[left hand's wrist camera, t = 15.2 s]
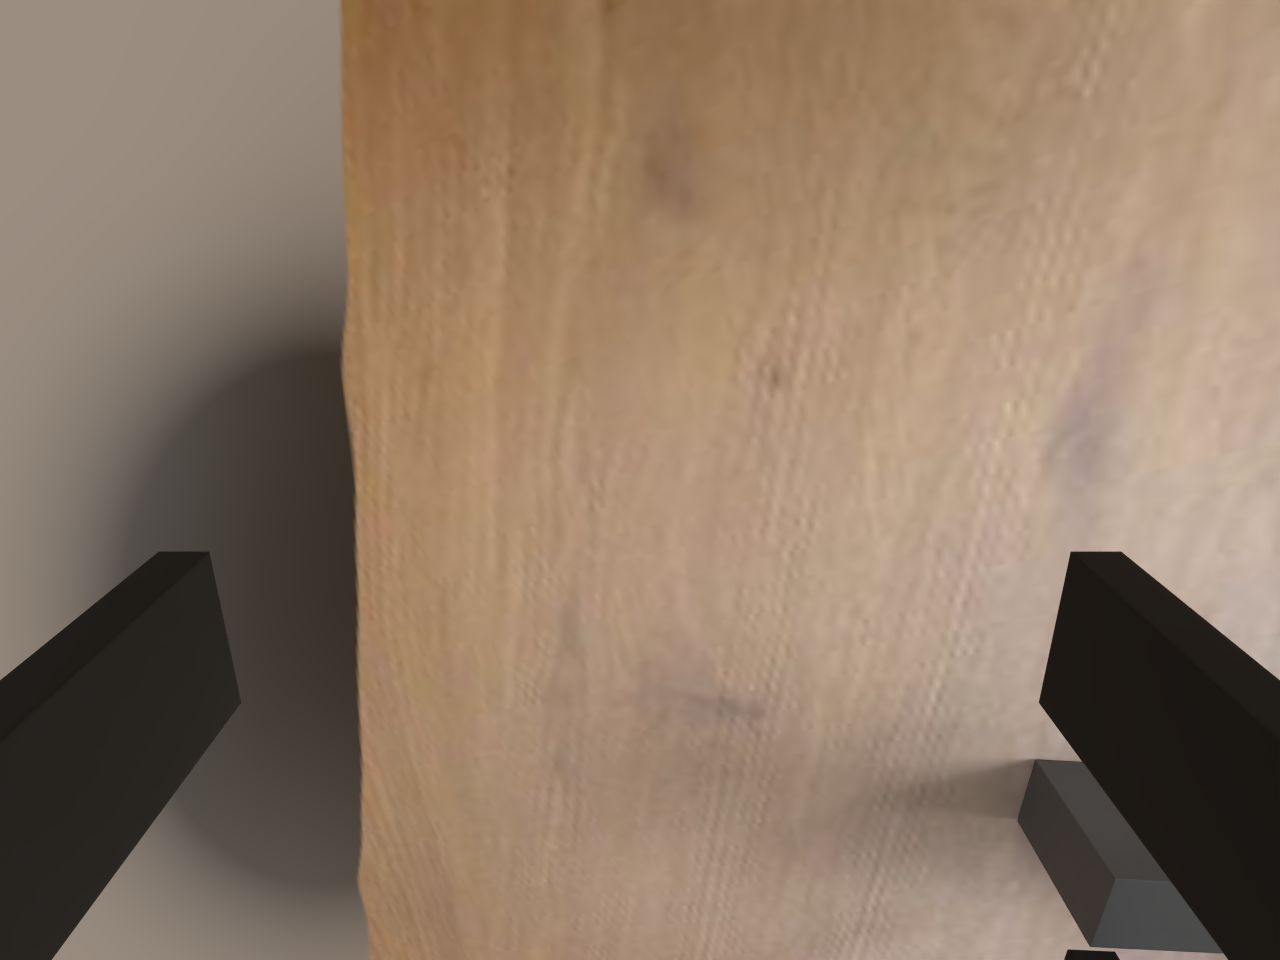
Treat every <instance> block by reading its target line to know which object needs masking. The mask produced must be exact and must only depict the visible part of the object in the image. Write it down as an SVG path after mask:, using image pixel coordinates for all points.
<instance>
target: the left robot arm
mask: <svg viewBox="0 0 1280 960" xmlns="http://www.w3.org/2000/svg"><path fill="white" fill-rule="evenodd" d="M240 703H241V700H240V695H239V690H238V686H237V681H236V676H235V671H234V667H233V662H232V657H231V653H230V648H229V643H228V638H227V634H226V629H225V624H224V619H223V615H222V610H221V605H220V601H219V596H218V591H217V586H216V582H215V577H214V572H213V567H212V563H211V558H210V553H209V552H158V553H157V554H155V555H154V556H153V557H152V558H151V559H149V560H148V561H147V562H146V563H144V564H143V565H142V566H141V567H139V568H138V569H137V570H136V571H135V572H133V573H132V574H131V575H130V576H128V577H127V578H126V579H125V580H123V581H122V582H121V583H120V584H118V585H117V586H116V587H115V588H114V589H112V590H111V591H110V592H109V593H107V594H106V595H105V596H104V597H103V598H101V599H100V600H99V601H98V602H96V603H95V604H94V605H93V606H91V607H90V608H89V609H88V610H86V611H85V612H84V613H83V614H82V615H80V616H79V617H78V618H77V619H75V620H74V621H73V622H72V623H71V624H69V625H68V626H67V627H66V628H64V629H63V630H62V631H61V632H59V633H58V634H57V635H56V636H54V637H53V638H52V639H51V640H49V641H48V642H47V643H46V644H45V645H43V646H42V647H41V648H40V649H38V650H37V651H36V652H35V653H33V654H32V655H31V656H30V657H29V658H27V659H26V660H25V661H24V662H22V663H21V664H20V665H19V666H17V667H16V668H15V669H14V670H13V671H11V672H10V673H9V674H8V675H6V676H5V677H4V678H3V679H1V680H0V960H52V959H53V957H54V956H55V954H56V953H57V952H58V950H59V949H60V948H61V946H62V945H63V944H64V942H65V941H66V940H67V938H68V937H69V935H70V934H71V933H72V931H73V930H74V929H75V927H76V926H77V925H78V923H79V922H80V921H81V919H82V918H83V916H84V915H85V914H86V912H87V911H88V910H89V908H90V907H91V906H92V904H93V903H94V901H95V900H96V899H97V897H98V896H99V895H100V893H101V892H102V891H103V889H104V888H105V887H106V885H107V884H108V882H109V881H110V880H111V878H112V877H113V876H114V874H115V873H116V872H117V870H118V869H119V868H120V866H121V865H122V863H123V862H124V861H125V859H126V858H127V857H128V855H129V854H130V853H131V851H132V850H133V849H134V847H135V846H136V845H137V843H138V842H139V840H140V839H141V838H142V836H143V835H144V834H145V832H146V831H147V830H148V828H149V827H150V826H151V824H152V823H153V821H154V820H155V819H156V817H157V816H158V815H159V813H160V812H161V811H162V809H163V808H164V807H165V805H166V804H167V802H168V801H169V800H170V798H171V797H172V796H173V794H174V793H175V792H176V790H177V789H178V788H179V786H180V785H181V783H182V782H183V781H184V779H185V778H186V777H187V775H188V774H189V773H190V771H191V770H192V769H193V767H194V766H195V764H196V763H197V762H198V760H199V759H200V758H201V756H202V755H203V754H204V752H205V751H206V749H207V748H208V747H209V745H210V744H211V743H212V741H213V740H214V739H215V737H216V736H217V735H218V733H219V732H220V730H221V729H222V728H223V726H224V725H225V724H226V722H227V721H228V720H229V718H230V717H231V716H232V714H233V713H234V712H235V710H236V709H237V707H238V706H239V705H240ZM1039 703H1040V705H1041V706H1042V707H1043V709H1044V710H1045V712H1046V713H1047V714H1048V716H1049V717H1050V718H1051V720H1052V721H1053V722H1054V724H1055V725H1056V726H1057V728H1058V729H1059V731H1060V732H1061V733H1062V735H1063V736H1064V737H1065V739H1066V740H1067V741H1068V743H1069V744H1070V745H1071V747H1072V748H1073V750H1074V751H1075V752H1076V754H1077V755H1078V756H1079V758H1080V759H1081V760H1082V762H1083V763H1084V764H1085V766H1086V767H1087V769H1088V770H1089V771H1090V773H1091V774H1092V775H1093V777H1094V778H1095V779H1096V781H1097V782H1098V783H1099V785H1100V786H1101V788H1102V789H1103V790H1104V792H1105V793H1106V794H1107V796H1108V797H1109V798H1110V800H1111V801H1112V802H1113V804H1114V805H1115V807H1116V808H1117V809H1118V811H1119V812H1120V813H1121V815H1122V816H1123V817H1124V819H1125V820H1126V821H1127V823H1128V824H1129V826H1130V827H1131V828H1132V830H1133V831H1134V832H1135V834H1136V835H1137V836H1138V838H1139V839H1140V840H1141V842H1142V843H1143V845H1144V846H1145V847H1146V849H1147V850H1148V851H1149V853H1150V854H1151V855H1152V857H1153V858H1154V859H1155V861H1156V862H1157V864H1158V865H1159V866H1160V868H1161V869H1162V870H1163V872H1164V873H1165V874H1166V876H1167V877H1168V878H1169V880H1170V881H1171V883H1172V884H1173V885H1174V887H1175V888H1176V889H1177V891H1178V892H1179V893H1180V895H1181V896H1182V897H1183V899H1184V900H1185V902H1186V903H1187V904H1188V906H1189V907H1190V908H1191V910H1192V911H1193V912H1194V914H1195V915H1196V916H1197V918H1198V919H1199V921H1200V922H1201V923H1202V925H1203V926H1204V927H1205V929H1206V930H1207V931H1208V933H1209V934H1210V935H1211V937H1212V938H1213V940H1214V941H1215V942H1216V944H1217V945H1218V946H1219V948H1220V949H1221V950H1222V952H1223V953H1224V954H1225V956H1226V957H1227V959H1228V960H1280V680H1279V679H1277V678H1276V677H1275V676H1274V675H1272V674H1271V673H1270V672H1269V671H1267V670H1266V669H1265V668H1264V667H1263V666H1261V665H1260V664H1259V663H1258V662H1256V661H1255V660H1254V659H1253V658H1251V657H1250V656H1249V655H1248V654H1247V653H1245V652H1244V651H1243V650H1242V649H1240V648H1239V647H1238V646H1237V645H1235V644H1234V643H1233V642H1232V641H1231V640H1229V639H1228V638H1227V637H1226V636H1224V635H1223V634H1222V633H1221V632H1219V631H1218V630H1217V629H1216V628H1214V627H1213V626H1212V625H1211V624H1210V623H1208V622H1207V621H1206V620H1205V619H1203V618H1202V617H1201V616H1200V615H1198V614H1197V613H1196V612H1195V611H1194V610H1192V609H1191V608H1190V607H1189V606H1187V605H1186V604H1185V603H1184V602H1182V601H1181V600H1180V599H1179V598H1178V597H1176V596H1175V595H1174V594H1173V593H1171V592H1170V591H1169V590H1168V589H1166V588H1165V587H1164V586H1163V585H1162V584H1160V583H1159V582H1158V581H1157V580H1155V579H1154V578H1153V577H1152V576H1150V575H1149V574H1148V573H1147V572H1146V571H1144V570H1143V569H1142V568H1141V567H1139V566H1138V565H1137V564H1136V563H1134V562H1133V561H1132V560H1131V559H1129V558H1128V557H1127V556H1126V555H1125V554H1123V553H1122V552H1071V553H1070V558H1069V563H1068V567H1067V572H1066V577H1065V582H1064V586H1063V591H1062V596H1061V601H1060V605H1059V610H1058V615H1057V619H1056V624H1055V629H1054V634H1053V638H1052V643H1051V648H1050V653H1049V657H1048V662H1047V667H1046V671H1045V676H1044V681H1043V686H1042V690H1041V695H1040V700H1039Z"/></svg>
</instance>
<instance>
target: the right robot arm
mask: <svg viewBox="0 0 1280 960" xmlns="http://www.w3.org/2000/svg"><path fill="white" fill-rule="evenodd" d="M1065 960H1120V959H1119V958H1118V956H1117V955H1116V953H1115V952H1110V951H1087V950H1067V953H1066V956H1065Z"/></svg>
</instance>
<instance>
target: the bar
mask: <svg viewBox="0 0 1280 960" xmlns="http://www.w3.org/2000/svg"><path fill="white" fill-rule="evenodd" d="M1018 822H1019V824H1020V826H1021V828H1022V829H1023V831H1024V833H1025V835H1026V836H1027V838H1028V840H1029V842H1030V843H1031V845H1032V847H1033V848H1034V850H1035V852H1036V854H1037V855H1038V857H1039V859H1040V861H1041V862H1042V864H1043V866H1044V868H1045V869H1046V871H1047V873H1048V875H1049V876H1050V878H1051V880H1052V882H1053V883H1054V885H1055V887H1056V888H1057V890H1058V892H1059V894H1060V895H1061V897H1062V899H1063V901H1064V902H1065V904H1066V906H1067V908H1068V909H1069V911H1070V913H1071V915H1072V916H1073V918H1074V920H1075V922H1076V923H1077V925H1078V927H1079V929H1080V930H1081V932H1082V934H1083V935H1084V937H1085V939H1086V941H1087V942H1088V944H1089V946H1090V947H1103V948H1123V949H1144V950H1164V951H1185V952H1206V953H1223V952H1222V950H1221V949H1220V948H1219V946H1218V945H1217V944H1216V942H1215V941H1214V940H1213V938H1212V937H1211V935H1210V934H1209V933H1208V931H1207V930H1206V929H1205V927H1204V926H1203V925H1202V923H1201V922H1200V921H1199V919H1198V918H1197V916H1196V915H1195V914H1194V912H1193V911H1192V910H1191V908H1190V907H1189V906H1188V904H1187V903H1186V902H1185V900H1184V899H1183V897H1182V896H1181V895H1180V893H1179V892H1178V891H1177V889H1176V888H1175V887H1174V885H1173V884H1172V883H1171V881H1170V880H1169V878H1168V877H1167V876H1166V874H1165V873H1164V872H1163V870H1162V869H1161V868H1160V866H1159V865H1158V864H1157V862H1156V861H1155V859H1154V858H1153V857H1152V855H1151V854H1150V853H1149V851H1148V850H1147V849H1146V847H1145V846H1144V845H1143V843H1142V842H1141V840H1140V839H1139V838H1138V836H1137V835H1136V834H1135V832H1134V831H1133V830H1132V828H1131V827H1130V826H1129V824H1128V823H1127V821H1126V820H1125V819H1124V817H1123V816H1122V815H1121V813H1120V812H1119V811H1118V809H1117V808H1116V807H1115V805H1114V804H1113V802H1112V801H1111V800H1110V798H1109V797H1108V796H1107V794H1106V793H1105V792H1104V790H1103V789H1102V788H1101V786H1100V785H1099V783H1098V782H1097V781H1096V779H1095V778H1094V777H1093V775H1092V774H1091V773H1090V771H1089V770H1088V769H1087V767H1086V766H1085V764H1084V763H1083V762H1067V761H1049V760H1036V761H1035V764H1034V768H1033V771H1032V774H1031V778H1030V781H1029V784H1028V788H1027V791H1026V794H1025V798H1024V801H1023V804H1022V808H1021V811H1020V814H1019V818H1018Z"/></svg>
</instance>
